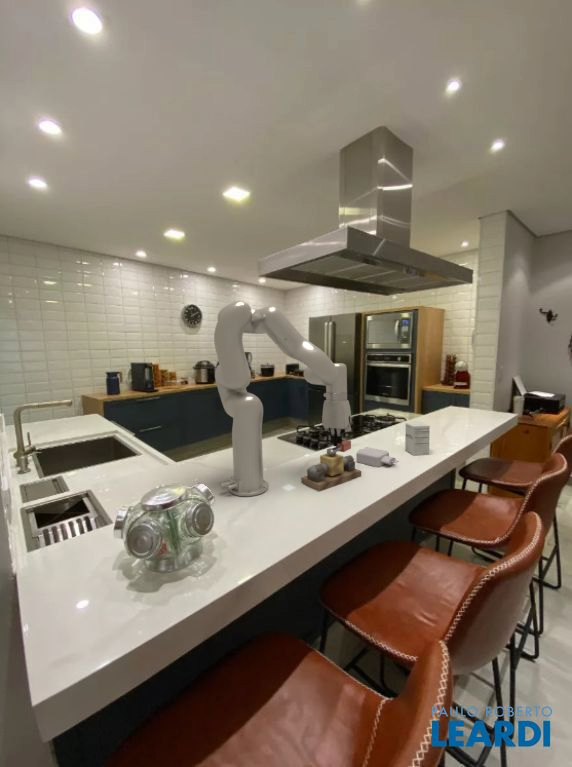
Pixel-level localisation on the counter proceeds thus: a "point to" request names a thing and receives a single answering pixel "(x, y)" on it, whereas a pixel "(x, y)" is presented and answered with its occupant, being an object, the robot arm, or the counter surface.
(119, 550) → the counter surface
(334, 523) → the counter surface
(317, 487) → the pipe board
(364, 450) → the charger
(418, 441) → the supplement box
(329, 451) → the valve lever
